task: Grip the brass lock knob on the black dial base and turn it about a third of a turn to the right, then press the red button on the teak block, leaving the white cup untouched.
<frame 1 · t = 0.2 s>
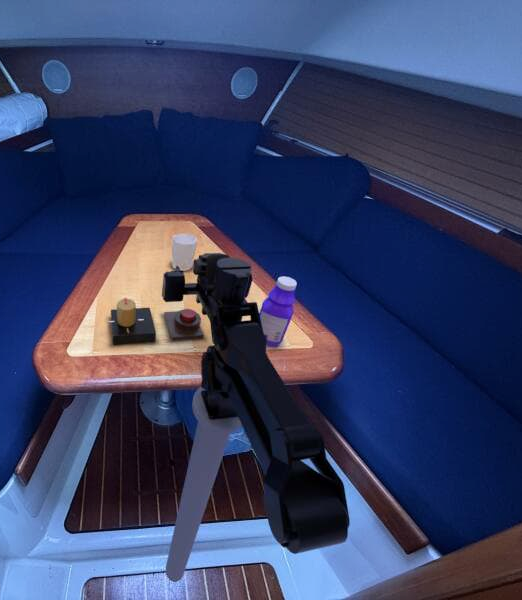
hand: (195, 267, 74), 17 cm above the table, tool horizontal, fingers open, 9 cm apart
red button: (188, 315, 80), point 3 cm above the table, slide at 0.1 cm
white cup: (181, 266, 108), on the table
bottle: (266, 340, 80), on the table
button block: (182, 326, 82), on the table
lock knob: (126, 312, 76), point 6 cm above the table, hinge at 0.0°
black dial base: (132, 330, 80), on the table
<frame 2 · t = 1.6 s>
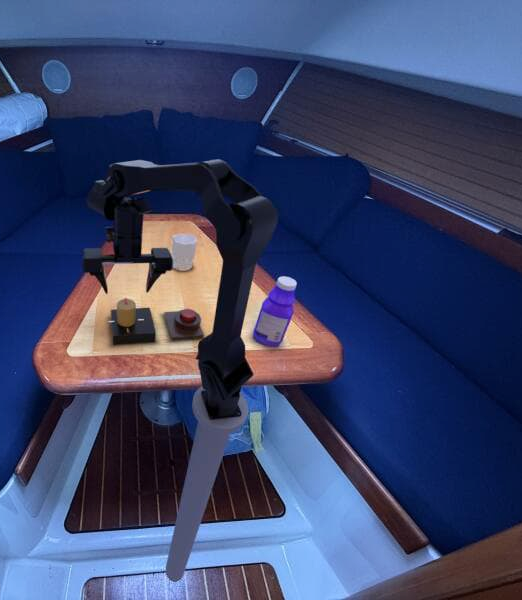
hand: (127, 292, 73), 11 cm above the table, tool pointing down, fingers open, 9 cm apart
nothing on the table moved.
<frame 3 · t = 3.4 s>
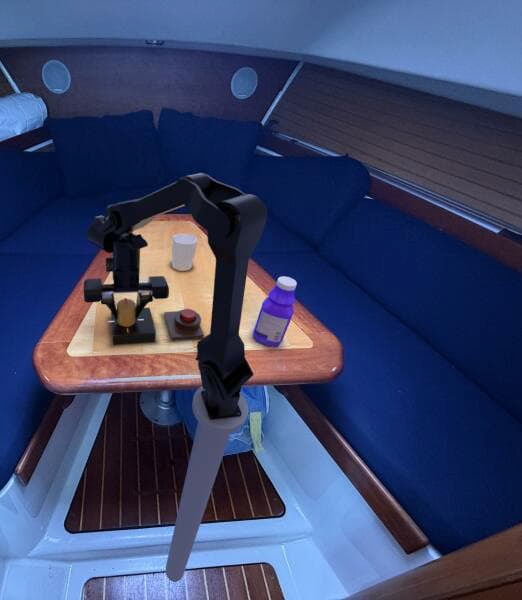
hand: (126, 317, 77), 4 cm above the table, tool pointing down, fingers closed on lock knob, 4 cm apart
lock knob: (126, 312, 76), point 6 cm above the table, hinge at 0.0°, touching gripper
everything else where it was.
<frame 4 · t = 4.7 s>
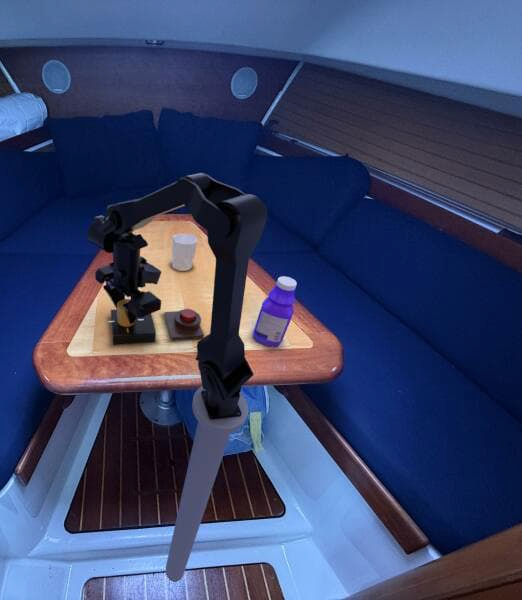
hand: (126, 317, 77), 4 cm above the table, tool pointing down, fingers closed on lock knob, 4 cm apart
lock knob: (126, 312, 76), point 6 cm above the table, hinge at -61.4°, touching gripper
everything else where it was.
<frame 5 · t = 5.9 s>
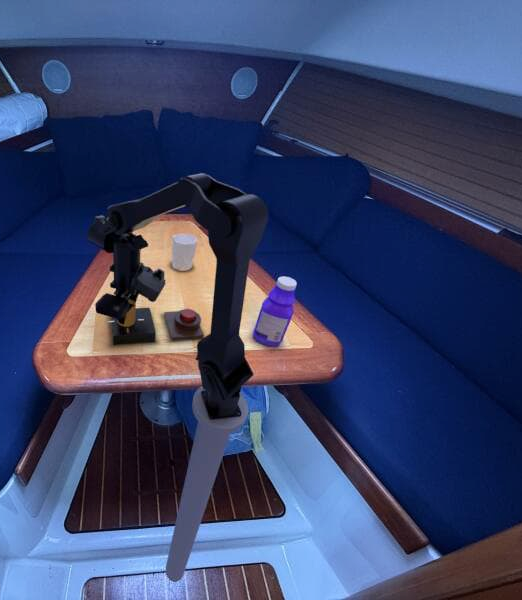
hand: (126, 317, 77), 4 cm above the table, tool pointing down, fingers closed on lock knob, 4 cm apart
lock knob: (126, 312, 76), point 6 cm above the table, hinge at -120.3°, touching gripper
everything else where it was.
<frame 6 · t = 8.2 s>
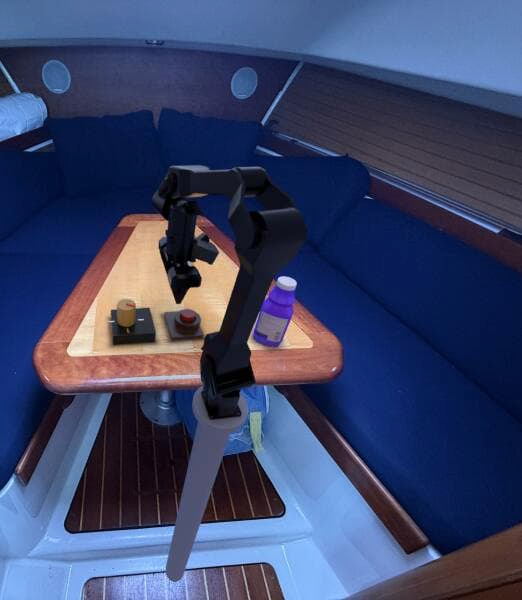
hand: (174, 292, 75), 11 cm above the table, tool pointing down, fingers open, 9 cm apart
lock knob: (126, 312, 76), point 6 cm above the table, hinge at -120.5°
everything else where it was.
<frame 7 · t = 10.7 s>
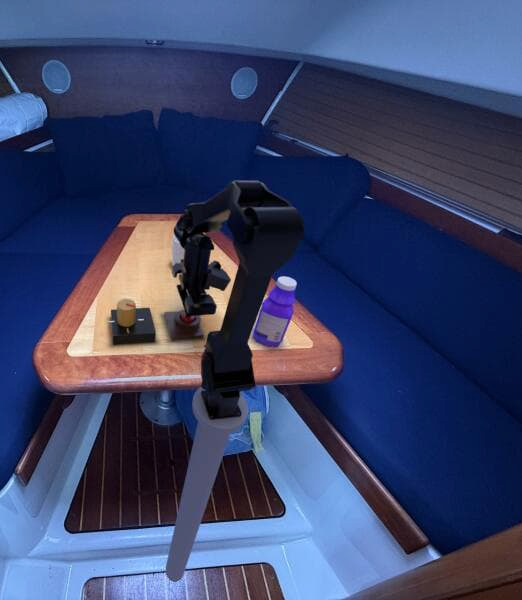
hand: (188, 315, 80), 4 cm above the table, tool pointing down, fingers closed, pressing on red button
red button: (187, 317, 81), point 3 cm above the table, slide at -0.6 cm, touching gripper
everything else where it was.
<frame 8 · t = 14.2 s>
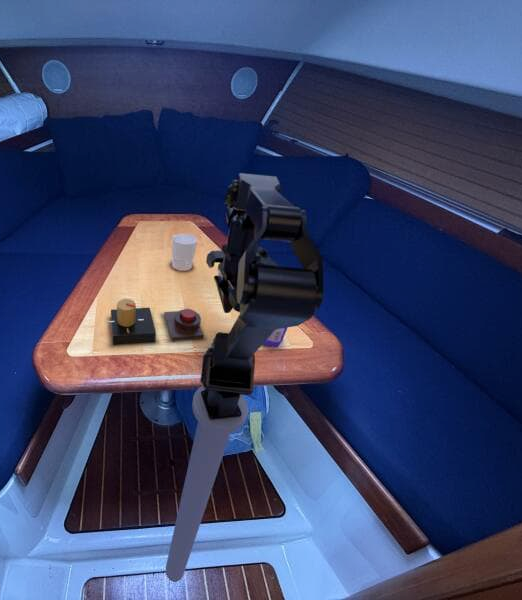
hand: (226, 311, 68), 12 cm above the table, tool pointing down, fingers closed
red button: (188, 315, 80), point 3 cm above the table, slide at 0.1 cm
everything else where it was.
at the end: lock knob at -120° (first picture: +0°); red button pushed in 1.1 cm at the most during the clip, back to where it started at the end; white cup moved 0.2 cm from its start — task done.
